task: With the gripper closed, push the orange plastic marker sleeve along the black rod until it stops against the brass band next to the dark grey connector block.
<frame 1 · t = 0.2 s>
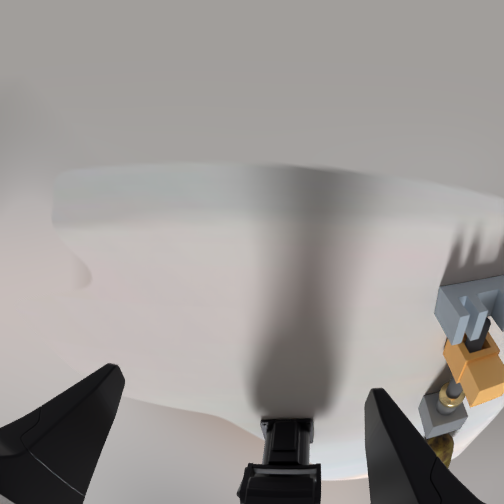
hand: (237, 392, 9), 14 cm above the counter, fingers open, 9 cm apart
connector: (437, 398, 28), on the counter
sleeve: (477, 364, 20), point 4 cm above the counter, slide at 0.0 cm
band: (446, 379, 26), on the counter
black rod: (455, 356, 25), resting on connector
potato: (430, 443, 34), on the counter
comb: (474, 293, 21), on the counter
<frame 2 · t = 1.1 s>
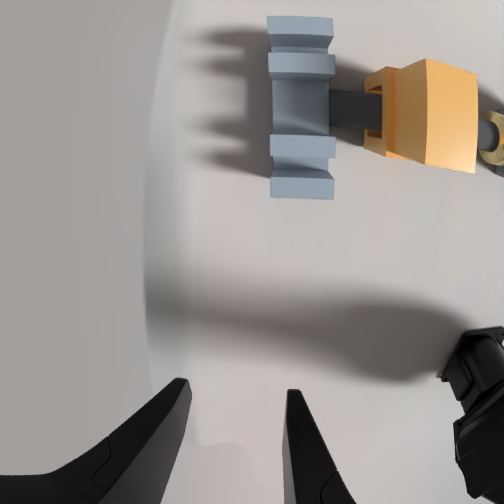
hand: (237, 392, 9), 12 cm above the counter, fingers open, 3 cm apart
sleeve: (414, 115, 11), point 4 cm above the counter, slide at 0.0 cm
band: (474, 134, 14), on the counter
black rod: (428, 123, 15), resting on connector
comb: (299, 108, 16), on the counter
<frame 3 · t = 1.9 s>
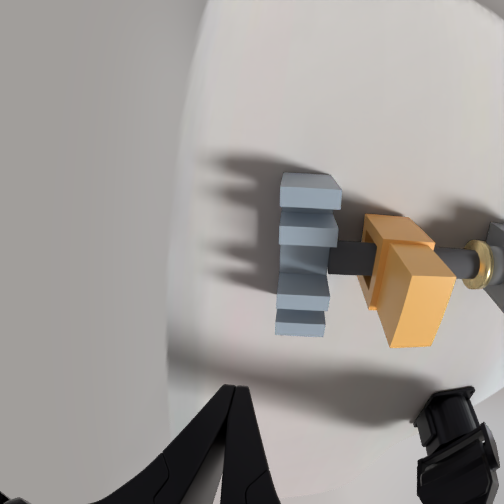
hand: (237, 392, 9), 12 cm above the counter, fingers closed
connector: (495, 252, 17), on the counter
sleeve: (400, 273, 15), point 4 cm above the counter, slide at 0.0 cm
band: (461, 250, 18), on the counter
black rod: (418, 247, 18), resting on connector
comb: (304, 240, 19), on the counter
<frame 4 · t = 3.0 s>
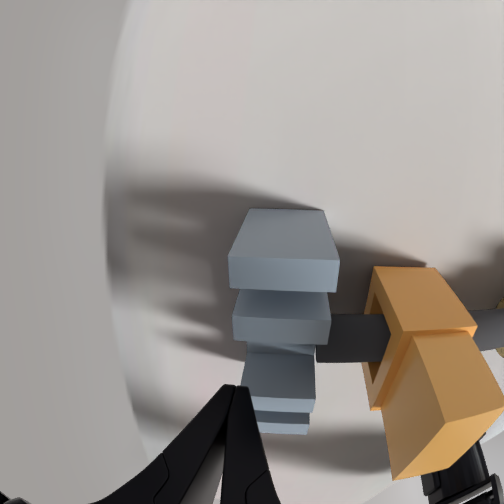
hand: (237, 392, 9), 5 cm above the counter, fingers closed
sleeve: (420, 365, 9), point 4 cm above the counter, slide at 0.0 cm
band: (494, 300, 12), on the counter
black rod: (443, 302, 13), resting on connector
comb: (283, 302, 14), on the counter
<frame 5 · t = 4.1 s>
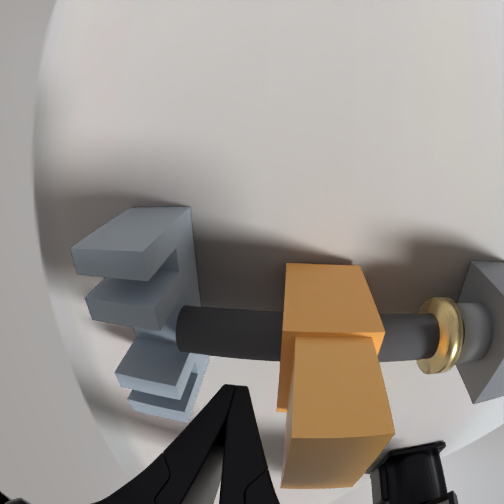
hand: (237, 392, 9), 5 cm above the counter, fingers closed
connector: (476, 302, 12), on the counter
sleeve: (324, 370, 10), point 4 cm above the counter, slide at 1.7 cm, touching gripper
band: (419, 303, 13), on the counter
black rod: (345, 303, 13), resting on connector
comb: (171, 293, 14), on the counter
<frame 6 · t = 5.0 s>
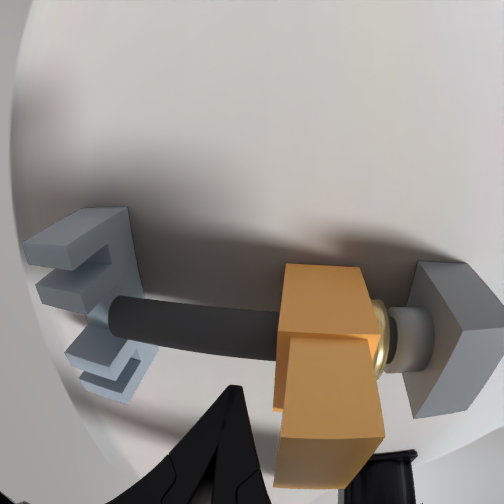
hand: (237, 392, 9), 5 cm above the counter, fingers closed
connector: (430, 306, 13), on the counter
sleeve: (320, 370, 10), point 4 cm above the counter, slide at 5.0 cm, touching band, gripper
band: (358, 305, 13), on the counter
black rod: (275, 301, 14), resting on connector
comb: (119, 286, 15), on the counter
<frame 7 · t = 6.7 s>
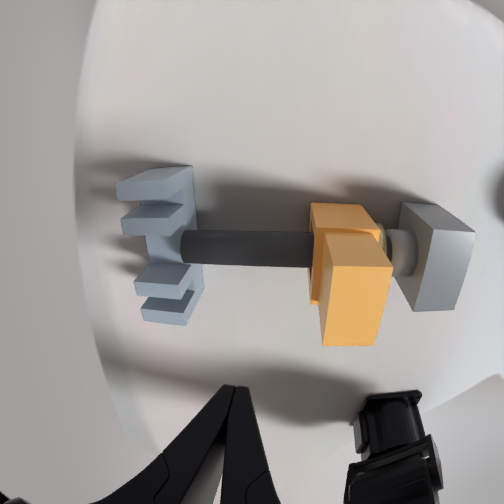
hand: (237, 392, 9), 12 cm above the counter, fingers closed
connector: (415, 238, 18), on the counter
sleeve: (343, 265, 15), point 4 cm above the counter, slide at 5.0 cm, touching band
band: (362, 235, 18), on the counter
black rod: (302, 233, 19), resting on connector
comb: (177, 231, 20), on the counter
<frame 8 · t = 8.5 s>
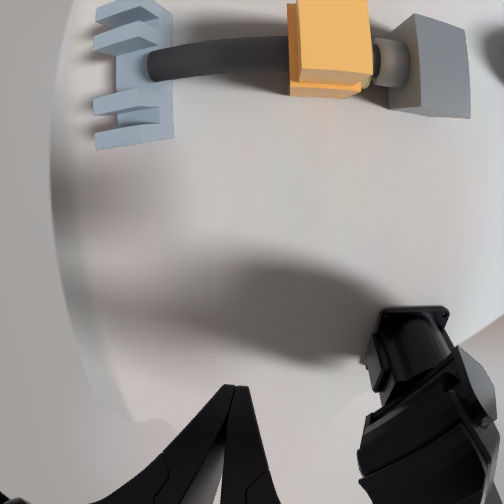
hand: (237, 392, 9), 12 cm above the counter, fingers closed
connector: (409, 76, 14), on the counter
sleeve: (323, 46, 10), point 4 cm above the counter, slide at 5.0 cm, touching band
black rod: (282, 63, 15), resting on connector
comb: (150, 76, 16), on the counter
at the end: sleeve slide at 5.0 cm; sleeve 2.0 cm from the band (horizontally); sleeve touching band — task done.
